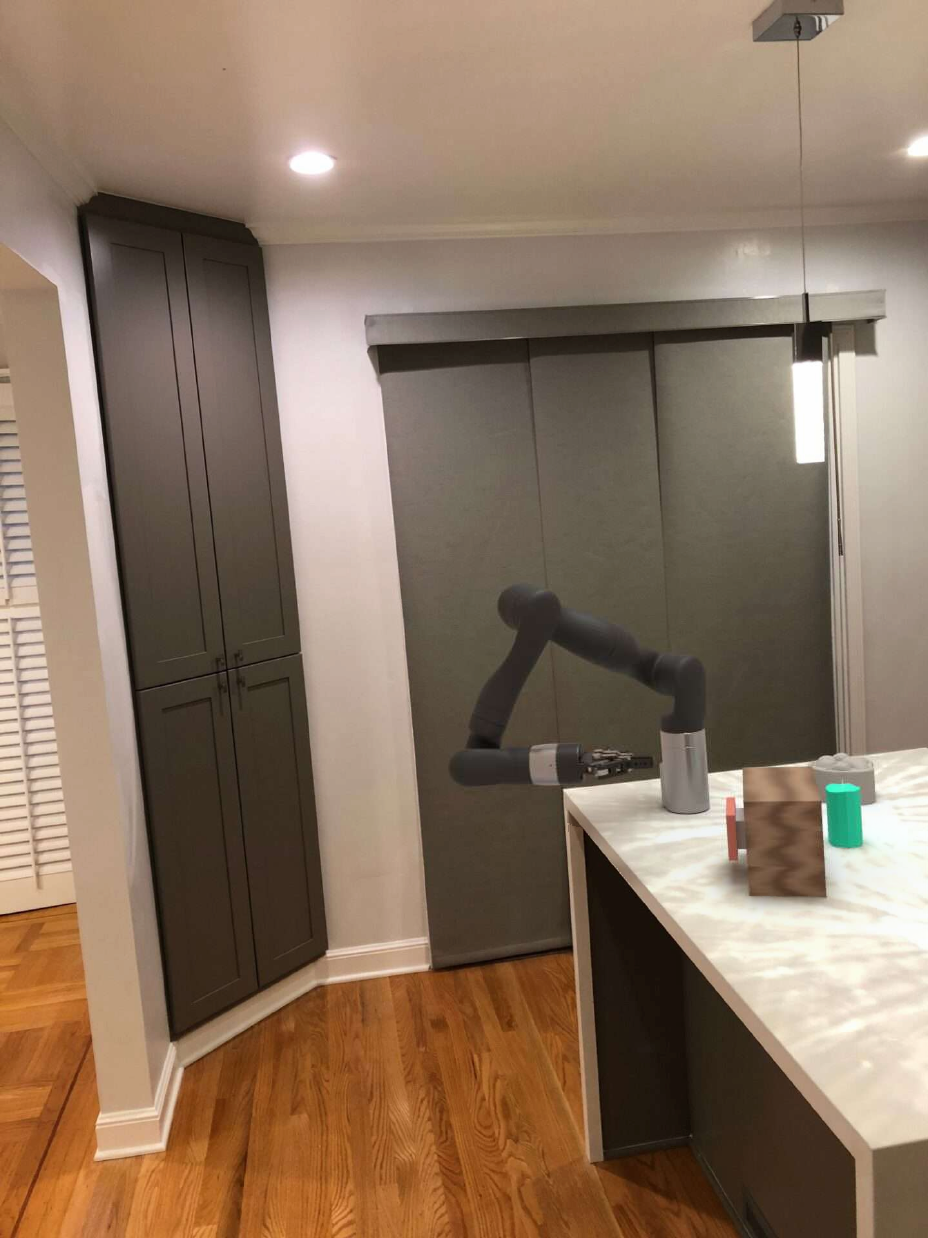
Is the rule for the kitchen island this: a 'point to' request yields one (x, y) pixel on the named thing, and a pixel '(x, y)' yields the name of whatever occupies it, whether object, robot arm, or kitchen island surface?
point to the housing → (783, 832)
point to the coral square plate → (735, 828)
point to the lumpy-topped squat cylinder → (845, 775)
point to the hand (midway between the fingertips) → (654, 761)
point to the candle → (844, 815)
